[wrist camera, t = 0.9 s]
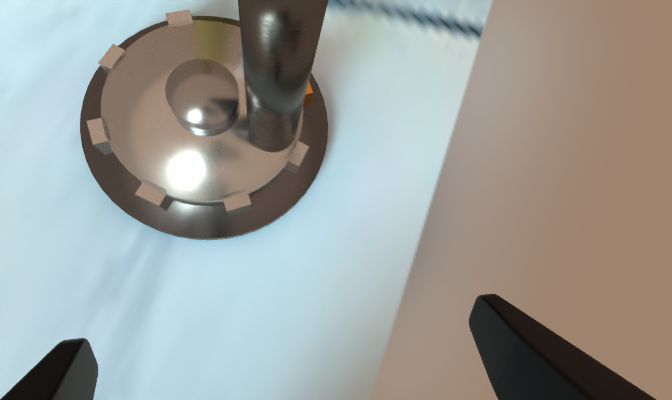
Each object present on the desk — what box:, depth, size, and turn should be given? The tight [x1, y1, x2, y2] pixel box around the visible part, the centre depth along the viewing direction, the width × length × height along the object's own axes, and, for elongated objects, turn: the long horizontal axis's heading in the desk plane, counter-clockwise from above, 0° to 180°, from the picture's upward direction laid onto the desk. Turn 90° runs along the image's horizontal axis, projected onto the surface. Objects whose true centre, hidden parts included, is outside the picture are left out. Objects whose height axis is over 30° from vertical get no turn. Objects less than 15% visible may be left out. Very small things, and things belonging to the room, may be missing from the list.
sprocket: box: [87, 0, 328, 216], centre depth 15 cm, size 11×11×12 cm
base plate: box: [80, 16, 328, 240], centre depth 20 cm, size 13×13×4 cm
